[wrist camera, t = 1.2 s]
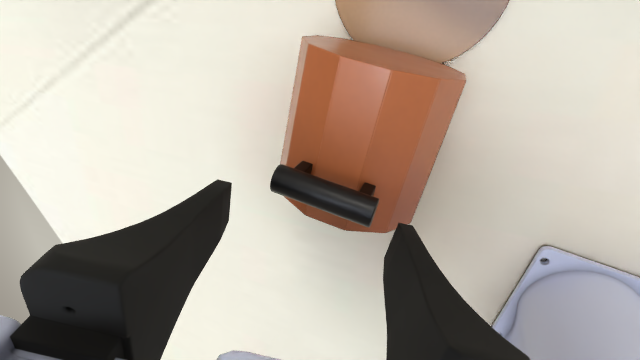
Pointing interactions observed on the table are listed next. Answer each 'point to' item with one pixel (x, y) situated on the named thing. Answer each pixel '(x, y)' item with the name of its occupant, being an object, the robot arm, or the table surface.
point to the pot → (363, 132)
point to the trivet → (421, 24)
